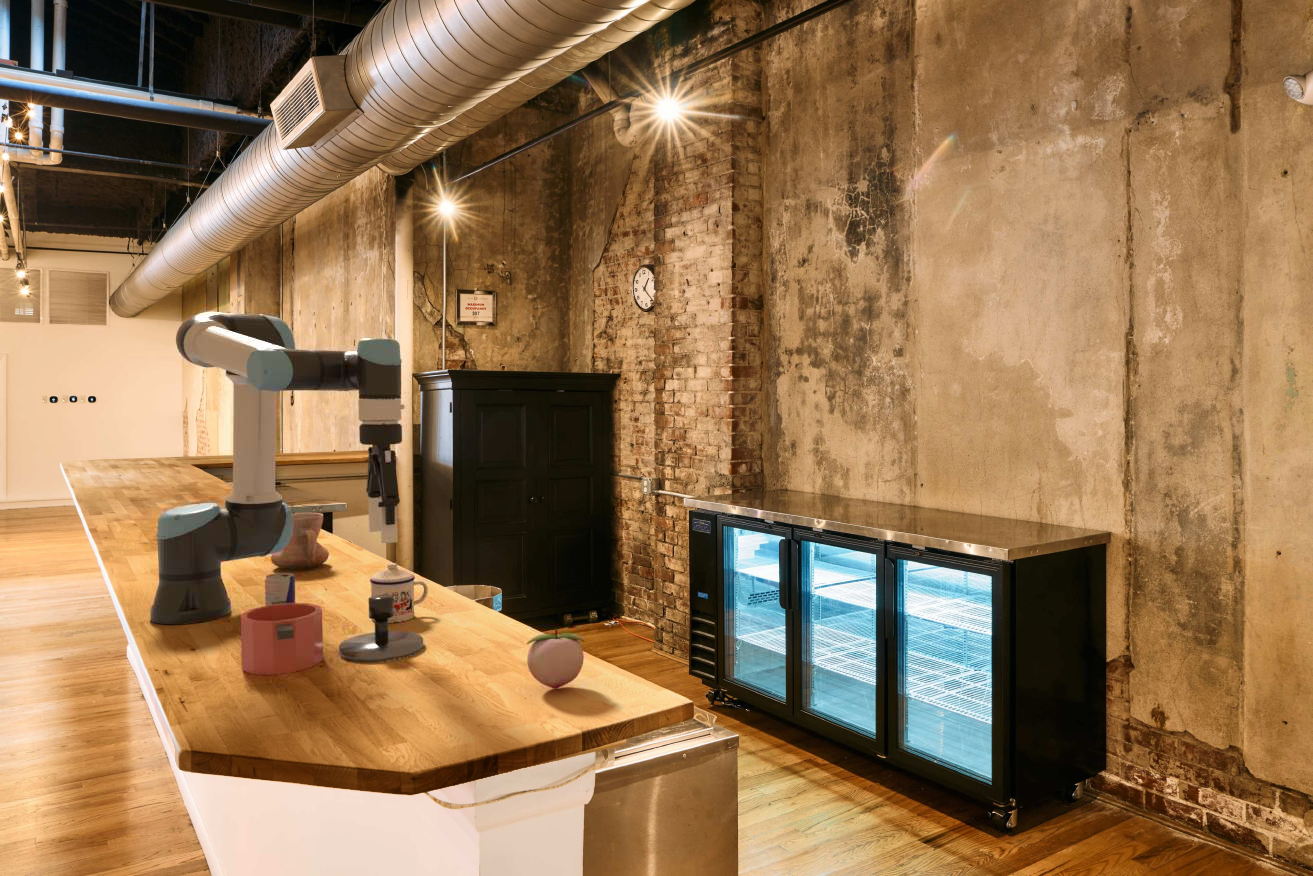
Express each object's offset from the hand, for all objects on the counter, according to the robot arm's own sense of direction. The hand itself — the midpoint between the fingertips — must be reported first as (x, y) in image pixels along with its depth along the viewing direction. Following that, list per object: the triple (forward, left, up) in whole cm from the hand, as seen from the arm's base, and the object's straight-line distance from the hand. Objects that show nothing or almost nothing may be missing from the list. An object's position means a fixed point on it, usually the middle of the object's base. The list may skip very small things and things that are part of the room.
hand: (382, 536), depth 158 cm
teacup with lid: (-10, +19, -21) cm, 30 cm away
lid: (0, -1, -21) cm, 21 cm away
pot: (-12, -13, -21) cm, 27 cm away
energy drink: (-24, 0, -21) cm, 32 cm away
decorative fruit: (+40, -10, -21) cm, 46 cm away
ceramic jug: (-65, +53, -21) cm, 87 cm away
